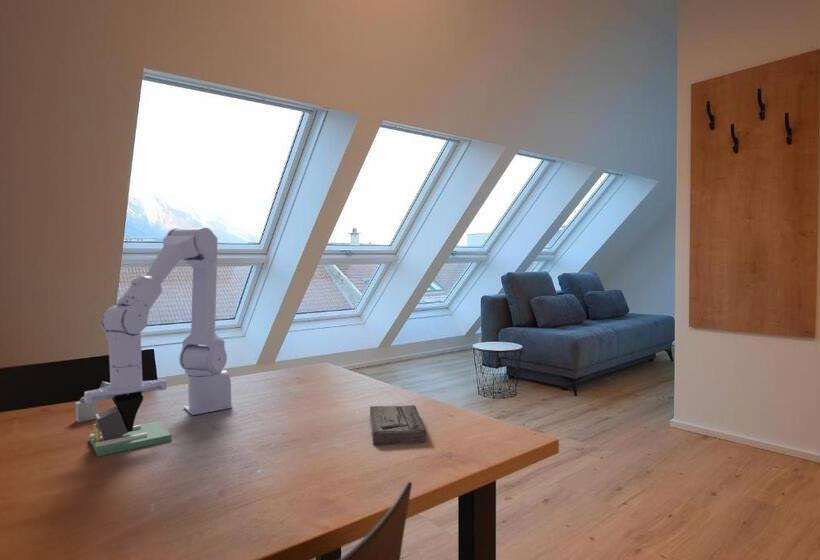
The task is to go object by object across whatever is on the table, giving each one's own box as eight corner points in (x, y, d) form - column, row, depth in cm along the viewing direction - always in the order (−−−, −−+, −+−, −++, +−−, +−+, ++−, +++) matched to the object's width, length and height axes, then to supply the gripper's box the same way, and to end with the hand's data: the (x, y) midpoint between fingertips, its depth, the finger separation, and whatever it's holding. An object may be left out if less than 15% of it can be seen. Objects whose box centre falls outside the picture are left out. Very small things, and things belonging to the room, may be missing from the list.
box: (415, 417, 120) (415, 404, 120) (426, 445, 103) (426, 429, 103) (369, 419, 119) (369, 405, 118) (372, 447, 101) (372, 431, 101)
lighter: (78, 422, 117) (77, 387, 117) (75, 421, 118) (74, 386, 118) (112, 414, 123) (111, 381, 122) (109, 413, 124) (108, 380, 123)
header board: (158, 426, 114) (157, 407, 114) (171, 440, 105) (170, 420, 105) (89, 440, 106) (88, 420, 106) (97, 456, 97) (96, 434, 97)
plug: (124, 427, 106) (115, 405, 105) (128, 432, 103) (118, 410, 102) (102, 437, 104) (93, 414, 103) (106, 442, 101) (96, 419, 100)
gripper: (158, 356, 112) (160, 417, 113) (80, 366, 103) (83, 433, 104) (168, 361, 107) (170, 425, 108) (87, 372, 97) (90, 443, 98)
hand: (128, 430), depth 105 cm, fingers closed
